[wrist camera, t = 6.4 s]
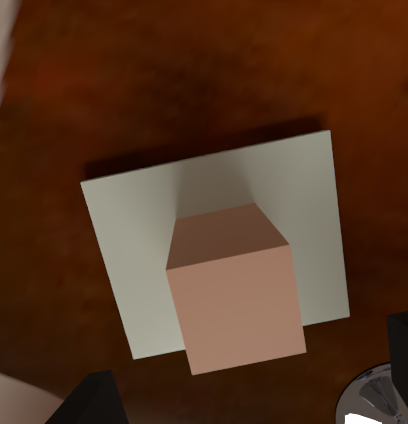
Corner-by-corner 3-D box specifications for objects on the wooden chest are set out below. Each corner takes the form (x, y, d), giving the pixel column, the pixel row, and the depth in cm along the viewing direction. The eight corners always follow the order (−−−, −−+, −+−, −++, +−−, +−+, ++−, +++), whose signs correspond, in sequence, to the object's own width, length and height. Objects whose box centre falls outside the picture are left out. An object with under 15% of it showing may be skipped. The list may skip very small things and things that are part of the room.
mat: (323, 130, 16) (330, 130, 15) (343, 308, 19) (349, 316, 18) (85, 180, 16) (80, 182, 16) (136, 349, 19) (133, 359, 18)
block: (255, 202, 16) (290, 244, 10) (268, 276, 17) (306, 352, 11) (175, 219, 16) (165, 270, 10) (192, 291, 17) (192, 375, 11)
